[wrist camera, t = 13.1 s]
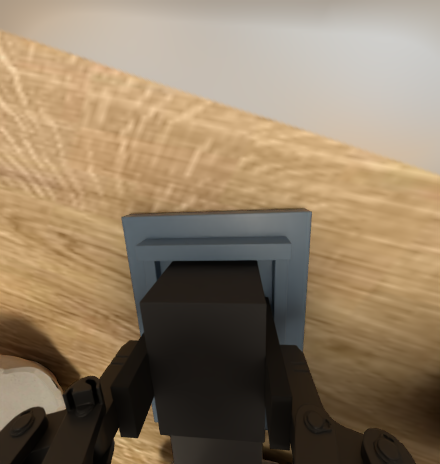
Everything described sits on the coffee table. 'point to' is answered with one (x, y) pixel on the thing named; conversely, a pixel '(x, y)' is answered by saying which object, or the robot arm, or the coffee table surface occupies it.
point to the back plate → (226, 249)
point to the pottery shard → (26, 388)
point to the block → (208, 349)
